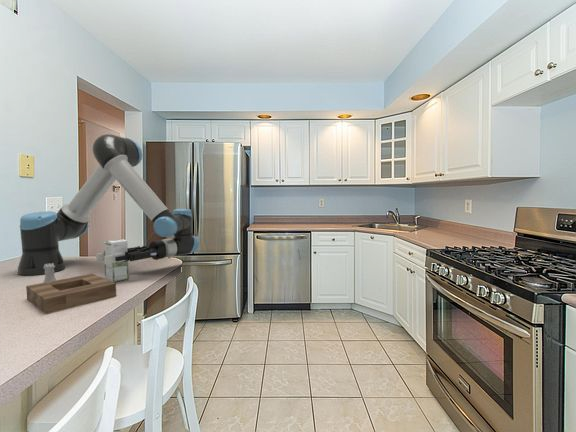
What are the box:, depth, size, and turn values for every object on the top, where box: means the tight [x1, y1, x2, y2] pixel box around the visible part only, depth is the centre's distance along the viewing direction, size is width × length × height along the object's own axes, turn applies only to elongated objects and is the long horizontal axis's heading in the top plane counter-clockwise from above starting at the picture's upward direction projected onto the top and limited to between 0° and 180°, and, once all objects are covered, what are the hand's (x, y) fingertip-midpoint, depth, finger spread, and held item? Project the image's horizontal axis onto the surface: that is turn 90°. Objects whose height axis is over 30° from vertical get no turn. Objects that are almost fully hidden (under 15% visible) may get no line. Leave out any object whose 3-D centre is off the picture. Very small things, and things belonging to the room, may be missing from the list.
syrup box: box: [103, 238, 129, 283], centre depth 116 cm, size 6×6×14 cm
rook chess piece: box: [42, 263, 57, 283], centre depth 107 cm, size 4×4×8 cm
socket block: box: [25, 273, 117, 315], centre depth 98 cm, size 18×18×4 cm
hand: (100, 259), depth 112 cm, fingers closed on syrup box, 6 cm apart
